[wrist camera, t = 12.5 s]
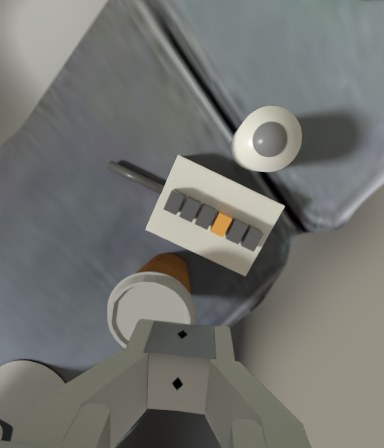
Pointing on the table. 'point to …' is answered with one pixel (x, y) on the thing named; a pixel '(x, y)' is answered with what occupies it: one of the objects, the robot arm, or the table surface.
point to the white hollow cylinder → (267, 140)
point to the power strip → (220, 200)
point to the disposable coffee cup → (151, 297)
